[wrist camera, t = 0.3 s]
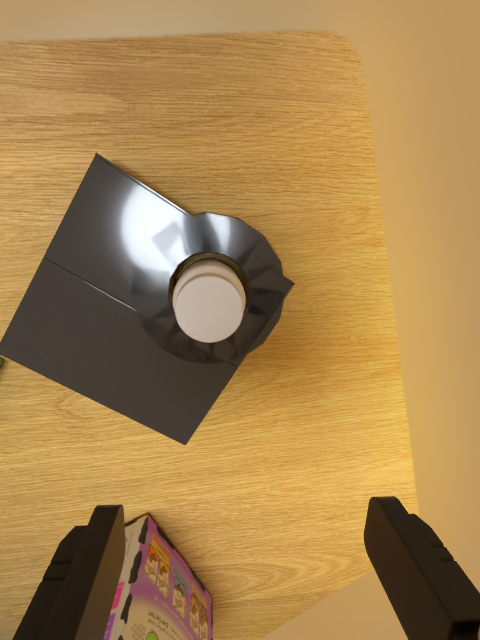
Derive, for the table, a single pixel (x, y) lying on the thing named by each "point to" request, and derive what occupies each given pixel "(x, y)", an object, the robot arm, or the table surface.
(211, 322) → the pill bottle
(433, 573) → the robot arm
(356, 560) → the table surface
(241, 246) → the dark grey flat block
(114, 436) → the table surface
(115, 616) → the candy box
